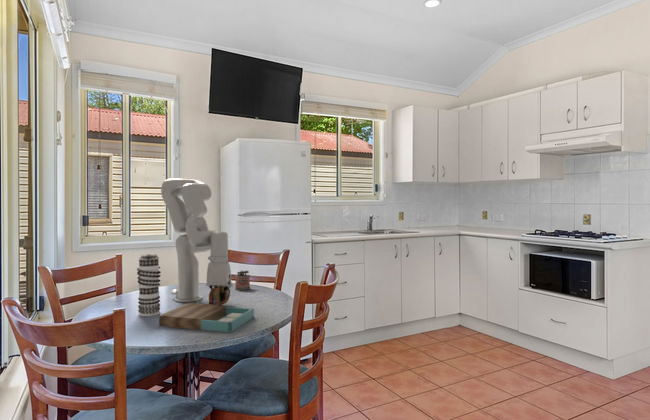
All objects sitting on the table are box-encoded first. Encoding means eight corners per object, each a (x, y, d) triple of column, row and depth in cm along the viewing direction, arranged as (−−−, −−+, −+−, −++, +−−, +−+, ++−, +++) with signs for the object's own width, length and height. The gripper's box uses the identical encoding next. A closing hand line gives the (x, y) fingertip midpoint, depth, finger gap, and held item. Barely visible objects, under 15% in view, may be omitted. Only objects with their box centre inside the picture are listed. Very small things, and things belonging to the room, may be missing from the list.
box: (201, 329, 152) (201, 320, 152) (226, 315, 171) (226, 306, 171) (230, 332, 149) (230, 322, 149) (253, 317, 168) (253, 308, 168)
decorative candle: (137, 311, 176) (137, 253, 175) (160, 309, 179) (160, 252, 179) (136, 317, 167) (136, 256, 167) (161, 315, 171) (160, 255, 170)
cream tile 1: (229, 322, 153) (229, 327, 153) (235, 318, 158) (235, 323, 158) (217, 321, 154) (217, 326, 154) (223, 317, 159) (223, 322, 159)
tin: (213, 309, 175) (214, 289, 175) (206, 308, 176) (207, 288, 176) (230, 301, 190) (231, 283, 190) (223, 300, 191) (225, 282, 190)
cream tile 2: (237, 317, 160) (237, 322, 160) (243, 313, 165) (243, 318, 165) (226, 316, 161) (226, 321, 161) (232, 312, 166) (232, 317, 166)
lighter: (236, 290, 218) (236, 271, 218) (234, 289, 221) (234, 270, 221) (250, 289, 222) (250, 270, 222) (248, 287, 225) (248, 269, 225)
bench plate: (158, 325, 156) (158, 315, 156) (188, 312, 175) (188, 302, 175) (201, 329, 152) (201, 319, 152) (226, 315, 171) (226, 305, 171)
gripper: (198, 260, 181) (198, 301, 181) (231, 261, 177) (232, 303, 177) (207, 257, 188) (207, 297, 188) (239, 259, 184) (239, 299, 184)
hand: (219, 300), depth 183 cm, fingers closed on tin, 2 cm apart
